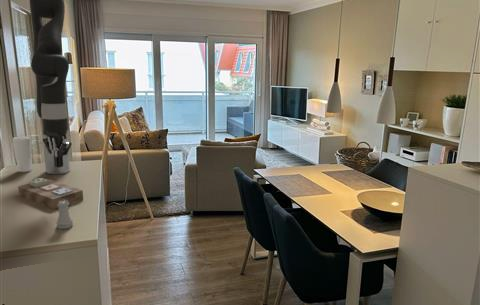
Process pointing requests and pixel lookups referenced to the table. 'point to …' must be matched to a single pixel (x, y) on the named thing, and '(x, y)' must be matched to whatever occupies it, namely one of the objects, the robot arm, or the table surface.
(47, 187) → the one-pip button
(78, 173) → the table surface
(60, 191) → the two-pip button
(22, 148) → the drinking glass
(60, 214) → the rook chess piece
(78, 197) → the button panel
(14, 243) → the table surface
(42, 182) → the three-pip button
